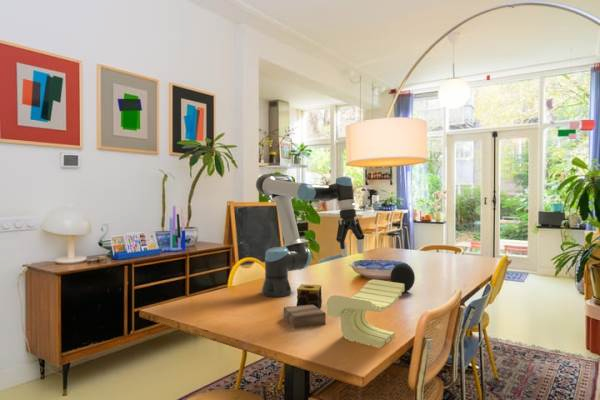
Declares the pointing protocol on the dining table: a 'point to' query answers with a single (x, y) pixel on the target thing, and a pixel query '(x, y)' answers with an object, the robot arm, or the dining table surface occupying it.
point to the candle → (309, 295)
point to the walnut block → (304, 316)
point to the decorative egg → (403, 275)
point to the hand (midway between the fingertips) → (352, 254)
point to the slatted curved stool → (353, 311)
